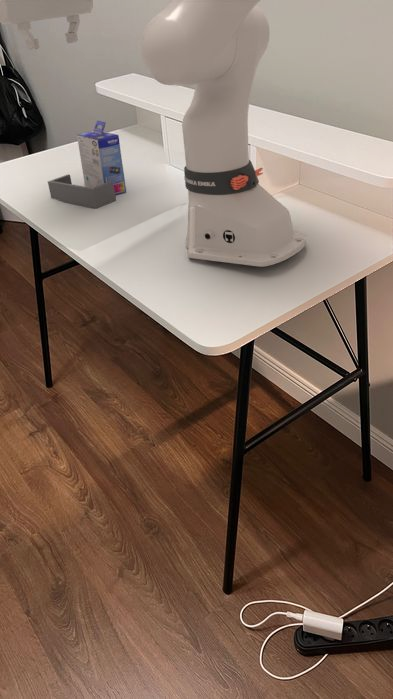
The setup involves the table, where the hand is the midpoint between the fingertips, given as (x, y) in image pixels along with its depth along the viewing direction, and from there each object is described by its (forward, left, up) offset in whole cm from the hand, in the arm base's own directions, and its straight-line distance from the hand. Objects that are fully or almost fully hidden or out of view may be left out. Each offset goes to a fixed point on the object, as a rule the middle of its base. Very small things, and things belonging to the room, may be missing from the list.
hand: (53, 46), depth 118 cm
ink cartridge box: (0, -7, -30) cm, 31 cm away
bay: (0, 0, -30) cm, 30 cm away
